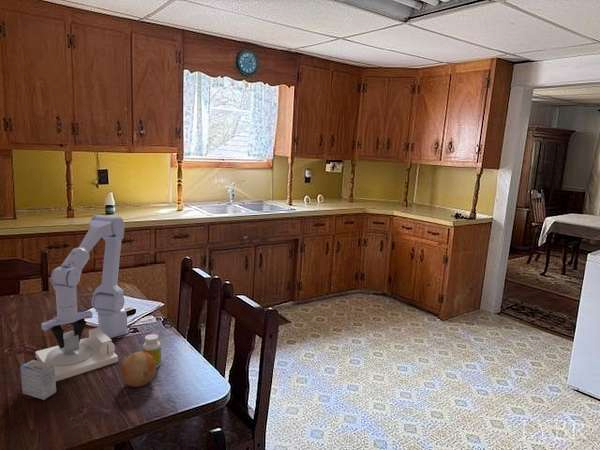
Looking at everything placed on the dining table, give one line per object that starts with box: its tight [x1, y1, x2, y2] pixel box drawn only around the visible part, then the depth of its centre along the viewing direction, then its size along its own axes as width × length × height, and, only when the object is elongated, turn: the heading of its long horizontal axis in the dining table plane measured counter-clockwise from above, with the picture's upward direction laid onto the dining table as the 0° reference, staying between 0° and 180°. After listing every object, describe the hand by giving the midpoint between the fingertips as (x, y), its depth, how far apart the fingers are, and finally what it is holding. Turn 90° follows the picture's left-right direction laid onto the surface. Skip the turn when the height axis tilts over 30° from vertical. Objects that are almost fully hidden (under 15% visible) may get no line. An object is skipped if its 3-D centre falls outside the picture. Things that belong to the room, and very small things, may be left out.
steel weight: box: [59, 329, 79, 354], centre depth 139 cm, size 4×4×5 cm
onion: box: [120, 350, 157, 388], centre depth 129 cm, size 10×10×10 cm
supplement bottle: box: [142, 333, 162, 368], centre depth 140 cm, size 5×5×10 cm
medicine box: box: [19, 359, 57, 401], centre depth 122 cm, size 8×4×9 cm, turn 71°
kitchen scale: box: [35, 327, 119, 382], centre depth 141 cm, size 19×19×6 cm
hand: (69, 344), depth 139 cm, fingers closed on steel weight, 4 cm apart
